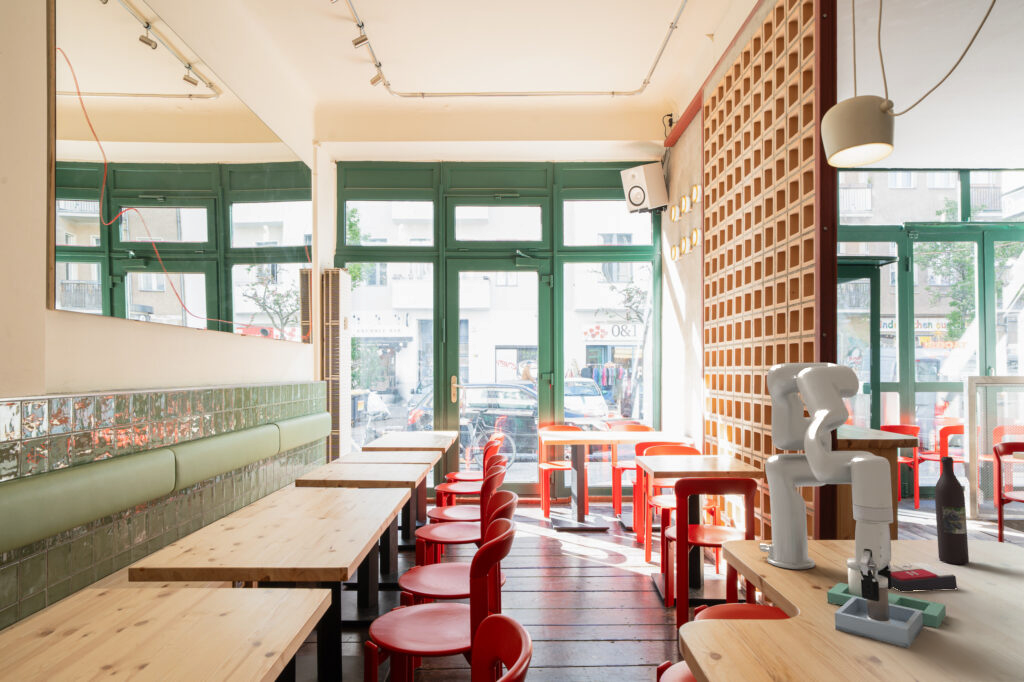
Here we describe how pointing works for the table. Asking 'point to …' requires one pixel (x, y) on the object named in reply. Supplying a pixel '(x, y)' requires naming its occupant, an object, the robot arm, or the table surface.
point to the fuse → (854, 578)
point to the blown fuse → (880, 603)
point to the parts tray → (897, 632)
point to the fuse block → (930, 610)
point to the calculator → (920, 577)
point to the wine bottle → (951, 516)
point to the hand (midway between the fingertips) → (877, 593)
